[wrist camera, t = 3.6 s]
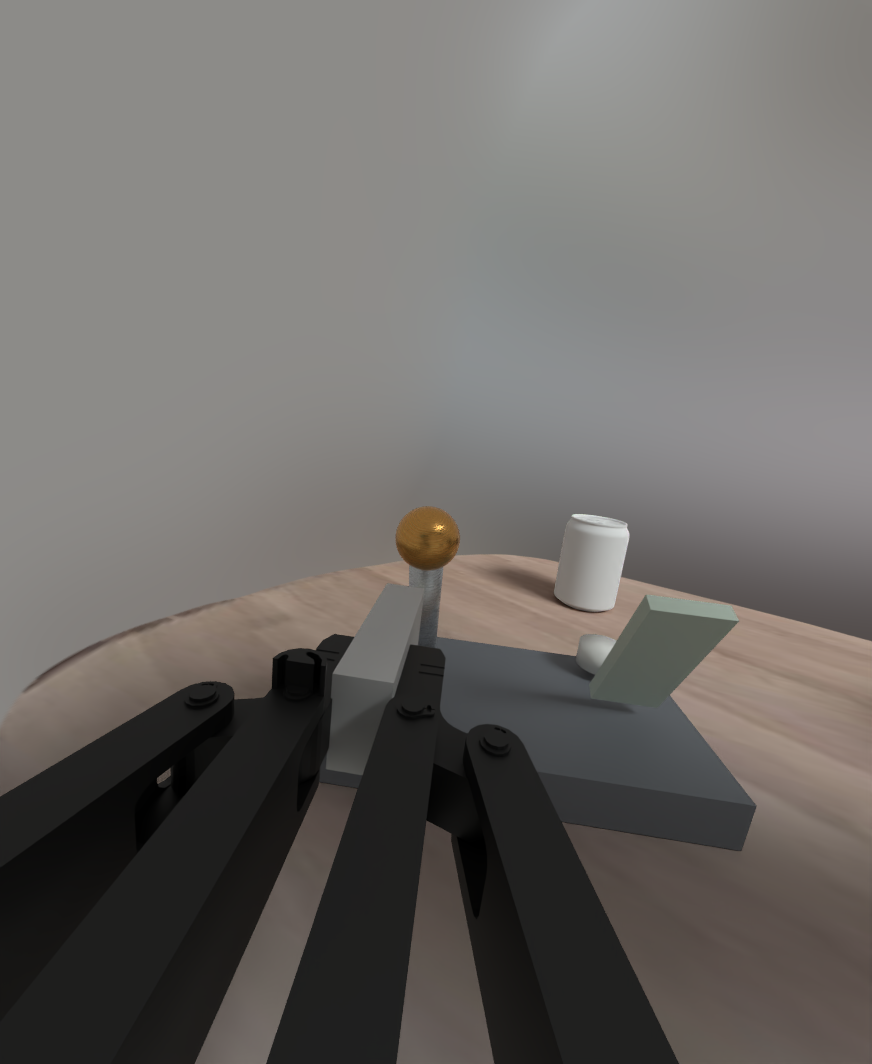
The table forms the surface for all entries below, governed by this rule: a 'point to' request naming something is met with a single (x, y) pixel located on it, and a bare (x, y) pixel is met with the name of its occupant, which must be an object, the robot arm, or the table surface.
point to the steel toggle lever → (427, 560)
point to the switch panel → (593, 747)
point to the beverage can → (591, 562)
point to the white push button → (593, 651)
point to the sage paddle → (660, 649)
